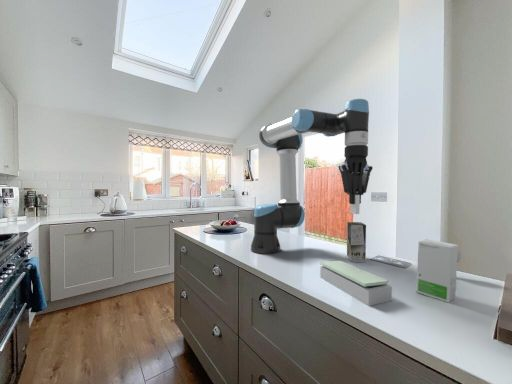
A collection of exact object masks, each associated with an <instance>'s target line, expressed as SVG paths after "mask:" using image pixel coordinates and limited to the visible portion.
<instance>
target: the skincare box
mask: <svg viewBox="0 0 512 384" xmlns="http://www.w3.org/2000/svg"><path fill="white" fill-rule="evenodd" d="M417 246H418V249H417V250H418V252H417V269H416V284H415V286H416V287H415V288H416V290H415V291H416V293H419V294H422V295H425V296H426V297H427V296H428V297H430V298H433V299H436V300H439V301H442V302H445V303H448V304H450V302H451V301H452V300H453V299H454V298H456V289H457V288H456V287H457V273H458V272H457V270H458V263H457V256H458V250H459V245H458V244H455V243H450V242H444V241H439V240H433V239H428V238H426V239H423V240H420V241H418V245H417Z"/></svg>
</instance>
